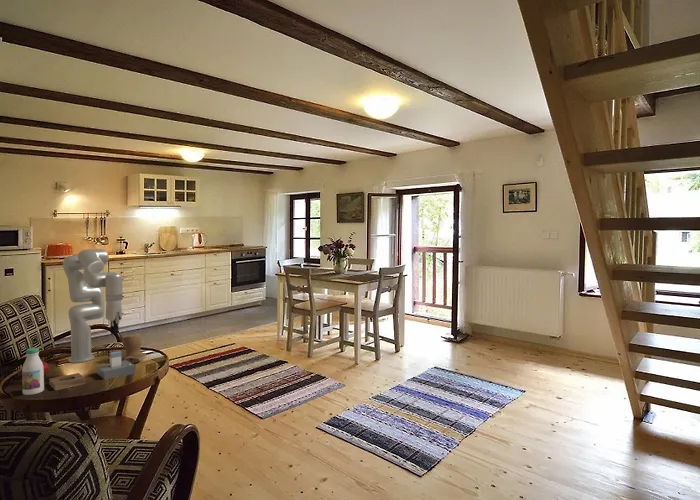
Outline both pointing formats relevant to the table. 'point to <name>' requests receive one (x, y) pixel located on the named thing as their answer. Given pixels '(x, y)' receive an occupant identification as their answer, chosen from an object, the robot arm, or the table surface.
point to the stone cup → (133, 347)
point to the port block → (116, 370)
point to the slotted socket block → (67, 381)
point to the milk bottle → (32, 373)
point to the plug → (115, 359)
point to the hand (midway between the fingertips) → (114, 333)
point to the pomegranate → (45, 367)
